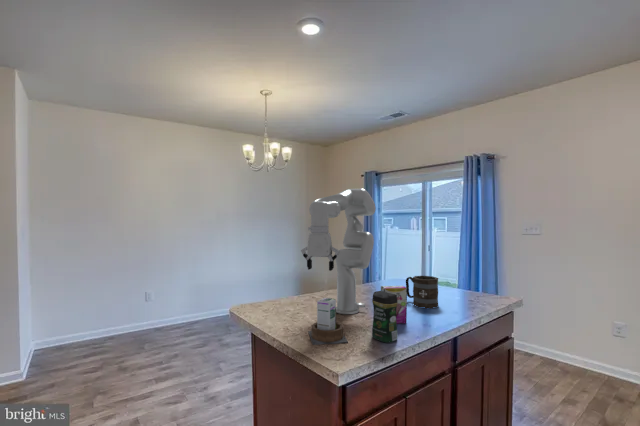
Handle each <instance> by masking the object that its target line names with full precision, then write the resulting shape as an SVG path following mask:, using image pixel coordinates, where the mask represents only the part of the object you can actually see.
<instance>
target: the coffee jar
mask: <svg viewBox="0 0 640 426" xmlns="http://www.w3.org/2000/svg"><path fill="white" fill-rule="evenodd" d="M371 300H372V301H371V302H372V306H373V316H372V317H373V320H372V330H371V331H372V333H371V336H372V338H373V339H375V340H377V341H380V342H383V343H387V344H388V343H394V342H396V341H397V340H398V324H397V322H396V308H397V304H398V301H397V295H396V294H392V293H388V292H384V291H381V290H377V291H374V292H373V293H372V299H371Z"/></svg>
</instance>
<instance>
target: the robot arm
mask: <svg viewBox="0 0 640 426" xmlns="http://www.w3.org/2000/svg"><path fill="white" fill-rule="evenodd" d="M308 211H309V215H310V227H309V226H308V228H307V230H308V231H310V233H309V234H308V239H307V246H306V247H304V248H302V249H301V250H300V252H301V253H302V256H303V257H304V259H305V260H306V267H307V270H311V269H313V260H312V257H314V258H315V257H316V258H327V259H328V260H329V262H328V271H330V272H331V271H332V270H333V269H334V268H335V265H336V276H337V277H336V279H337V282H336V283H337V284H336V285H337V286H336V292H337V293H336V314H340V315H355V314H358V313H359V312H360V308H366V303H362V302H357V276H356V273H355V271H354V270H353V269H358V270H359V269H360V270H365V269H368V268H369V265H370V262H371V258H372V254H373V249H374V244H375V243H374V241H375V239H374V236H373V234H372V233H371V232H369V231H363V229H364V224H363V223H362V221H361V220H360V219H359V217H361V216H364V217H365V216H366V217H367V216H369V217H370V216H373V215H374V214H375V212H376V204H375V201H374V200H373V198H372V196H371V195H370V193H369V192H368V191H367V190H366V189H364V188H347V189H345V190H342V191H340V192H338V193H336V194H332V195H331V194H330V195H328V196H325V197H320V198H317V199H316V200H315V199H314V200H313V201H312V202H311V203H310V204H309V208H308ZM342 211H344V215H345V218H346V222H347V226H346V229H345V233H344V237H343V241H342V244H343V247H344V248H341V249H337V248H335V247H333V243H332V242H333V241H332V237H331V233H329V232H330V231H329V230H330V229H329V219H334V218H337V217H338V216H339V215H340V214H341V212H342ZM358 216H359V217H358ZM306 251H307V252H306ZM333 252H334V255H333ZM334 263H336V264H334Z"/></svg>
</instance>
